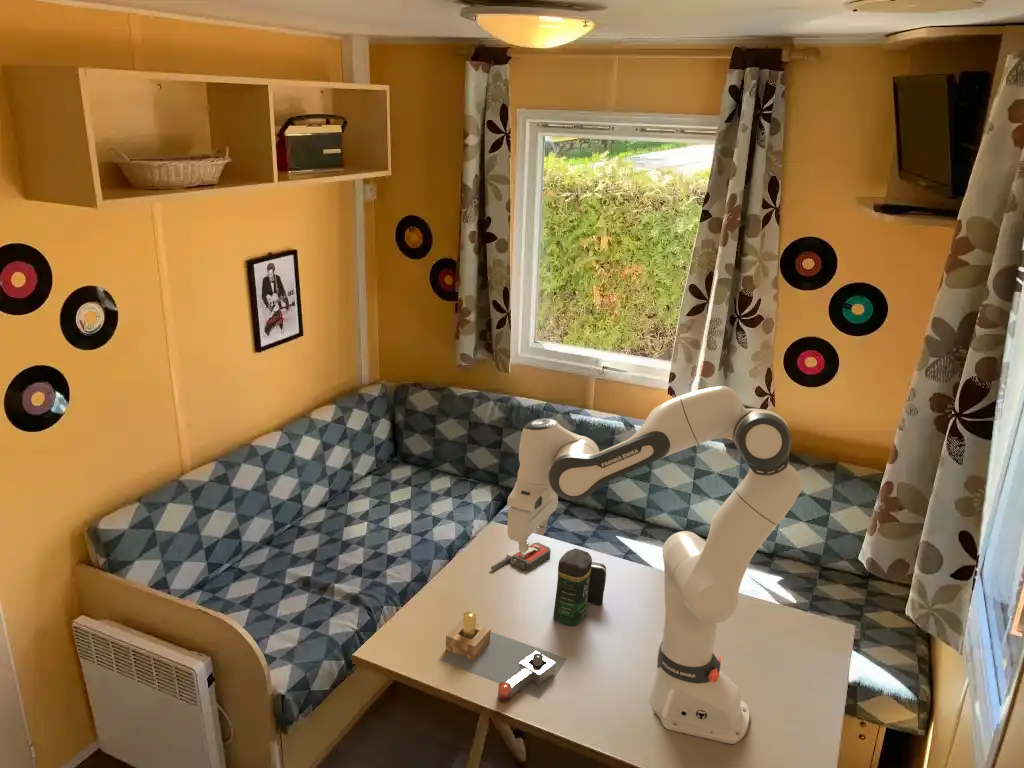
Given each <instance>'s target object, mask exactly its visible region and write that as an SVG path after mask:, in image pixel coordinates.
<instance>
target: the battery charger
mask: <svg viewBox="0 0 1024 768" xmlns="http://www.w3.org/2000/svg"><path fill="white" fill-rule="evenodd" d="M606 583H607V567H606V565H605V564H603V563H599V562H593V561H592V567H591V573H590V580H589V589H588V602H587V604H591V605H599V606H602V605H603V604H604V593H605V590H606V589H605V588H606Z"/></svg>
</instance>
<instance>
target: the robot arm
mask: <svg viewBox="0 0 1024 768" xmlns="http://www.w3.org/2000/svg"><path fill="white" fill-rule="evenodd" d="M715 439H728V440H730V441H732V442H733V443H734V444H735V447H736V449H737V451H738V452H739V454H740V456H741V458H742V459H743V460H744V461H745V463H746V464H747V466H748V467H749V468H748V471H747V473H746V476H745V477H744V479H743V480H741V482H740V483H739V484H738V485H737V486H736V488H735V489H734V490H733V491H731V494H730V495H729V496H728V497H727V498H726V500H725V501H724V502H723V503H722V504H721V506H720V507H718V509H717V510H716V511H715V512H714V514H713V516H712V517H711V520H710V525H709V527H710V528H709V532H708V535H707V537H706V540H704V538H702V537H700V536H699V535H698V534H696V533H695V532H692V531H689V530H682V531H677V532H675V533H673V534H671V535H670V536H669V537H668V538H667V539H666V540H665V542H664V544H663V546H662V559H663V560H662V561H663V567H664V568H663V569H664V572H663V573H664V603H665V605H664V606H665V609H664V610H665V612H664V613H665V618H664V625H663V626H664V627H663V635H662V640H661V643H660V645H659V648H658V652H657V660H656V662H657V663H656V669H657V670H656V673H655V676H654V679H653V682H652V684H651V686H650V688H649V690H648V693H647V700H648V701H647V702H648V703H649V706H650V707H651V708H652V710H653V712H654V714H655V715H656V716H658V718H659V719H660V722H661V725H662V726H663V727H664V728H666V730H669V731H674V732H679V733H683V734H687V735H691V736H695V737H700V738H703V739H707V740H708V739H709V740H712V741H717V742H721V743H725V744H730V745H734V744H737V743H739V742H740V741H741V740H742V739H743V738H744V736H746V733H747V731H748V728H749V724H750V710H749V707H748V705H747V703H746V702H745V701H743V700H741V693H740V690H739V687H738V685H736V684H735V682H733V681H732V680H731V679H730V678H729V677H728V676H727V675H726V674H725V673H724V672H723V671H722V670H721V666H722V665H721V662H722V655H719V657H717V656H715V653H714V648H715V641H716V635H717V627H718V624H720V623H722V622H723V623H724V622H725V621H727V620H728V619H730V618H731V617H732V616H733V615H734V614H735V612H736V610H737V609H738V605H739V591H740V588H741V584H742V581H743V578H744V576H745V574H746V571H747V568H748V567H749V565H750V562H751V561H752V559H753V557H754V555H755V554H756V552H757V551H758V549H759V548H761V545H762V544H763V543H764V542H765V540H766V539H767V538H768V537H769V536H770V535H771V533H772V532H773V531H774V530H775V529H776V527H778V525H779V524H780V523H781V522H782V521H783V519H784V518H785V516H786V515H787V514H788V513H789V511H790V510H791V508H792V507H793V505H794V504H795V503H796V500H797V499H798V498H799V496H800V493H801V491H802V489H803V480H802V478H801V475H800V474H799V472H798V471H797V469H796V468H795V467H793V466H792V465H791V464H790V463H789V458H790V453H791V448H792V435H791V430H790V427H789V426H788V424H787V421H786V420H785V419H784V418H783V417H782V416H781V415H780V414H778V413H776V412H774V411H773V410H770V409H766V408H762V407H761V408H760V407H754V406H748V405H744V404H743V403H742V400H741V398H740V397H739V395H738V394H737V393H736V392H735V391H734V389H732V388H730V387H729V386H726V385H717V386H710V387H706V388H702V389H697V390H693V391H691V392H687V393H684V394H681V395H678V396H675V397H672V398H671V399H668V400H666V401H665V402H663V403H661V404H659V405H658V406H656V407H654V408H653V409H652V410H651V411H650V413H649V414H648V415H647V417H646V418H645V421H644V422H643V423H642V425H641V426H640V428H639V429H638V430H637V431H636V432H635V433H634V434H633V435H632V436H631V437H629V438H628V439H626V440H625V441H622V442H619V443H617V444H615V445H613V446H610V447H608V448H606V449H602V450H600V448H599V446H598V444H597V443H596V442H595V441H594V440H593V439H591V437H588V436H586V435H582V434H581V435H580V434H577V433H574V432H572V431H570V430H569V429H567V428H564V427H563V426H562V425H561V424H559V422H558V421H557V420H555V419H551V418H544V417H543V418H537V419H534V420H532V421H531V420H530V421H529V422H528V423H526V424H525V426H524V427H523V429H522V432H521V436H520V439H519V440H520V441H519V446H518V447H519V449H518V461H519V468H518V471H517V477H516V479H517V480H516V482H514V483H515V484H514V487H513V489H512V490H511V492H510V493H509V495H508V497H507V503H506V505H507V506H509V509H508V514H507V536H508V538H509V540H510V541H514V542H517V543H518V549H519V551H520V552H524V553H525V552H526V551H527V550H528V547H529V546H530V543H529V542H528V539H529V537H530V536H531V535H532V534H533V533H534V532H536V534H537V535H540V536H542V535H544V534H545V532H546V530H547V529H546V528H547V525H548V522H549V521H548V520H549V517H550V516H551V515H552V514H553V513H554V512H555V511H556V510H557V507H558V503H559V501H558V499H559V497H560V498H562V499H564V500H566V501H572V502H577V501H582V500H585V499H587V498H589V497H590V496H592V494H594V492H595V491H596V490H598V489H599V488H600V487H601V486H603V485H605V484H607V483H609V482H611V481H612V480H616V479H618V478H619V477H623V476H625V475H627V474H629V473H632V472H634V471H636V470H639V469H642V468H644V467H646V466H648V465H650V464H652V463H654V462H656V461H658V460H661V459H663V458H666V457H667V456H670V455H672V454H675V453H678V452H680V451H684V450H687V449H690V448H692V447H695V446H698V445H701V444H703V443H706V442H709V441H712V440H715Z"/></svg>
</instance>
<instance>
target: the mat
mask: <svg viewBox="0 0 1024 768" xmlns="http://www.w3.org/2000/svg"><path fill="white" fill-rule="evenodd" d="M535 651H537V652H538V653H540V654H542V655H543V656H545V657H547V658H549V659H550V660H552V661H554V662H555V663H556V664H555V674H553V675H552V676H551V677H549V678H548V679H547V680H545V681H544V682H543V683H541V684H540V685H539V686H538V685H537V684H535V683H533V682H532V681H530V682H529V683H528V684H526V685H525V686H524V687H522V688H521V689H520V690H518V691H519V692H522V693H524V694H526V695H527V694H528V695H530V696H532V697H535V698H538V699H541V698H542V696H543V695H544V693H545V692H546V691H547V688H549V686H550V684H551V683H552V682H553V680H554V679H555V677H556V675H557V674H558V673H559V671H560V670H561V668H562V667H563V665H564V663H565V662H566V661H567V659H568V658H567V657H565V656H564V657H563V656H561V655H558V654H555V653H553V652H550V651H547V650H544V649H541V648H538V647H536V646H533V645H531V644H527V643H524V642H521V641H519V640H516V639H513V638H511V637H508V636H505V635H503V634H502V635H501V634H499V633H497V632H494V631H491V634H490V643H489V644H488V645H487V647H486V648H485V649H484V650H483V651H482V652H481V654H480V655H479V656H478V657H477V658H476V659H475V661H474V660H472V659H469V658H466V657H463V656H461V655H458V654H455V653H453V652H450V651H448V652H447V653H446V654H445V655H444V656H443V657H442V659H441V660H440V661H441V662H443V663H446V664H448V665H452V666H454V667H456V668H459V669H462V670H463V671H464V670H465V671H467V672H470V673H472V674H475V675H478V676H480V677H483V678H484V679H485V678H486V679H488V680H491V681H492V682H496V683H497V684H500V683H501V682H507V681H508V680H510V679H511V678H512V677H514V676H515V675H516V674H518V673H519V663H520V662H521V661H522V660H524V659H525V658H527V657H528V656H530V655H531V654H532V653H534V652H535Z"/></svg>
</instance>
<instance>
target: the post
mask: <svg viewBox="0 0 1024 768" xmlns="http://www.w3.org/2000/svg"><path fill="white" fill-rule="evenodd" d="M532 666H534V667H535V668H537V669H540V668H541V667H542V666H543V655H542V654H540V653H536V654H534V655H533V662H532Z"/></svg>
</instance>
